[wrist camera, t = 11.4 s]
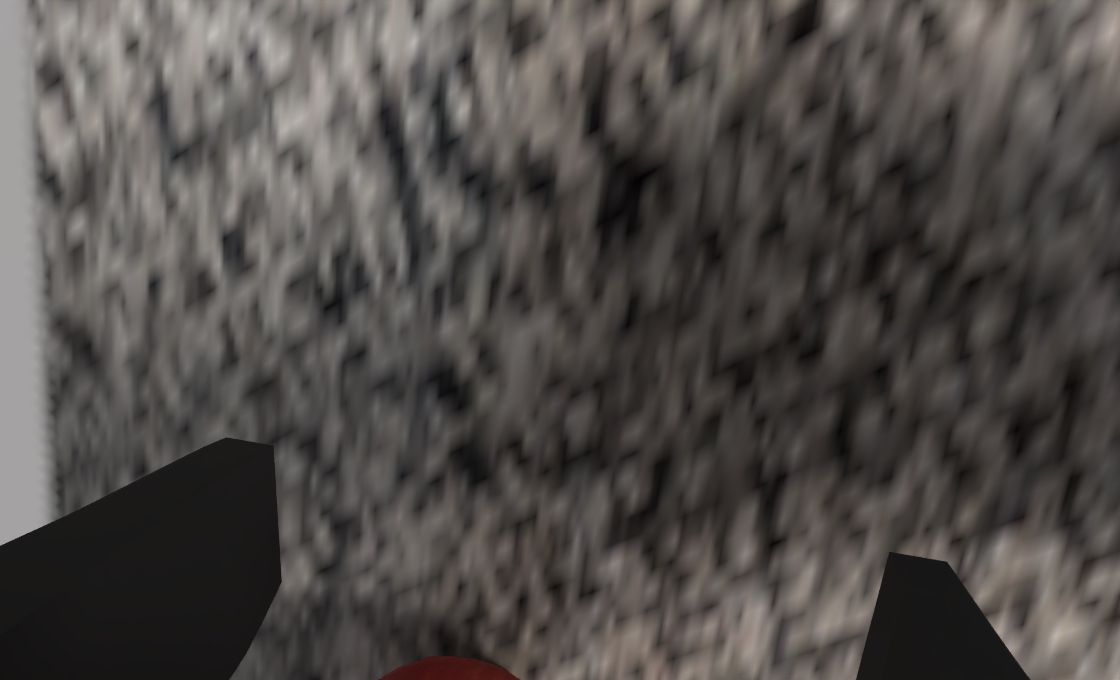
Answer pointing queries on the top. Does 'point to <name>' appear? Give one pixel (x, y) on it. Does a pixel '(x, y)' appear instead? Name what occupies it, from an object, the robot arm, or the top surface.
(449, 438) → the top surface
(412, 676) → the onion
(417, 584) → the top surface
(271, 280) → the top surface
